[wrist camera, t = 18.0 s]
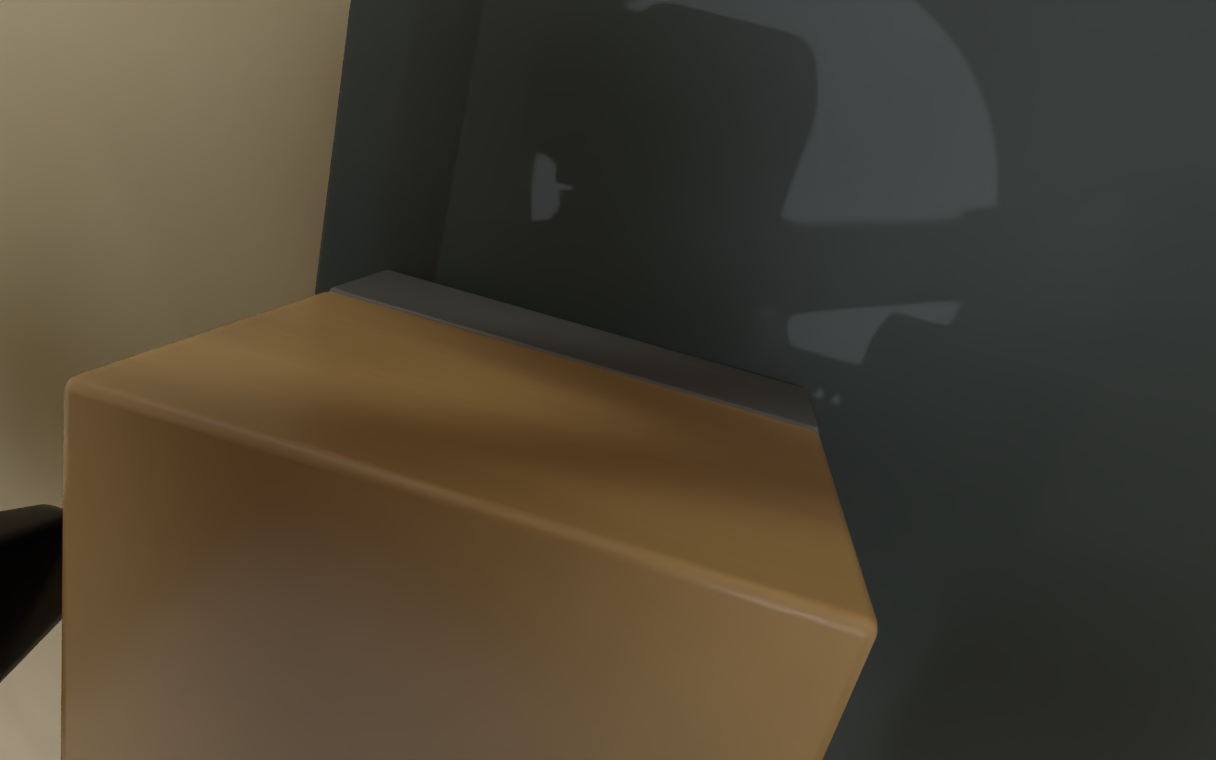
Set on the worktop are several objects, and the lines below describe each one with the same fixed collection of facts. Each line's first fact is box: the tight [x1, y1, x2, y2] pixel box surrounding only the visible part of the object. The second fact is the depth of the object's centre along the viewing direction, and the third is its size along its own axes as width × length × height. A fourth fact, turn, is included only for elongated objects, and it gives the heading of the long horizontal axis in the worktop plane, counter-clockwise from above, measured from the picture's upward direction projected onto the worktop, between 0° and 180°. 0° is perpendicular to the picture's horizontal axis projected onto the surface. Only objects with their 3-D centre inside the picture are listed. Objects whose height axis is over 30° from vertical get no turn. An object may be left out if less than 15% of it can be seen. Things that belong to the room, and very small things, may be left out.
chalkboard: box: [315, 0, 1216, 760], centre depth 7 cm, size 16×24×1 cm, turn 166°
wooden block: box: [61, 270, 878, 760], centre depth 7 cm, size 4×7×4 cm, turn 166°
